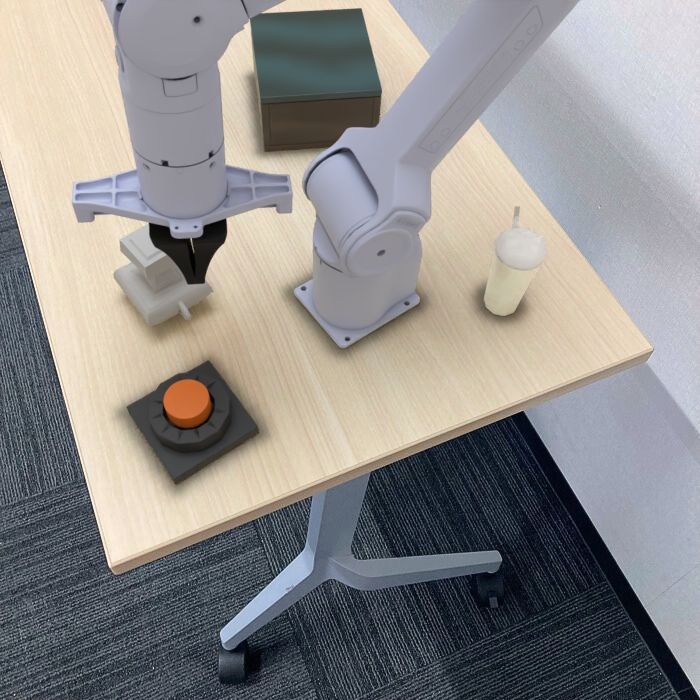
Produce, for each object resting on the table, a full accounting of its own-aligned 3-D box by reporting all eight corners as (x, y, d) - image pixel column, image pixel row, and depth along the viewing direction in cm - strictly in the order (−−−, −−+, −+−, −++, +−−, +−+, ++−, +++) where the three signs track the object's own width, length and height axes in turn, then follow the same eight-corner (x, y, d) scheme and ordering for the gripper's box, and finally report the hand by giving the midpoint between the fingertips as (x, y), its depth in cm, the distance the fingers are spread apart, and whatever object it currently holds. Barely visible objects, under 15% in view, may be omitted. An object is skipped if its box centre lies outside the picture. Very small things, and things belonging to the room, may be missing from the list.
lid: (249, 20, 79) (249, 13, 79) (361, 14, 81) (361, 7, 80) (260, 104, 73) (260, 97, 72) (381, 96, 74) (382, 90, 74)
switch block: (210, 366, 64) (206, 348, 61) (259, 432, 60) (257, 416, 58) (128, 413, 61) (120, 396, 58) (175, 485, 58) (169, 470, 55)
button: (197, 381, 60) (194, 371, 58) (220, 413, 58) (217, 403, 57) (158, 404, 58) (155, 393, 57) (181, 436, 57) (177, 427, 56)
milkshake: (515, 275, 71) (543, 204, 62) (529, 320, 68) (559, 252, 59) (470, 278, 70) (492, 207, 62) (482, 323, 67) (506, 255, 59)
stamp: (112, 286, 68) (89, 225, 61) (174, 254, 70) (158, 192, 63) (161, 350, 64) (142, 294, 57) (224, 315, 67) (213, 257, 59)
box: (254, 78, 85) (250, 29, 80) (359, 71, 86) (362, 23, 81) (264, 151, 78) (260, 104, 73) (377, 143, 80) (381, 96, 74)
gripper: (51, 185, 41) (97, 322, 53) (300, 176, 44) (293, 309, 55) (58, 106, 45) (100, 249, 56) (288, 102, 47) (284, 240, 59)
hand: (195, 274), depth 56 cm, fingers closed
